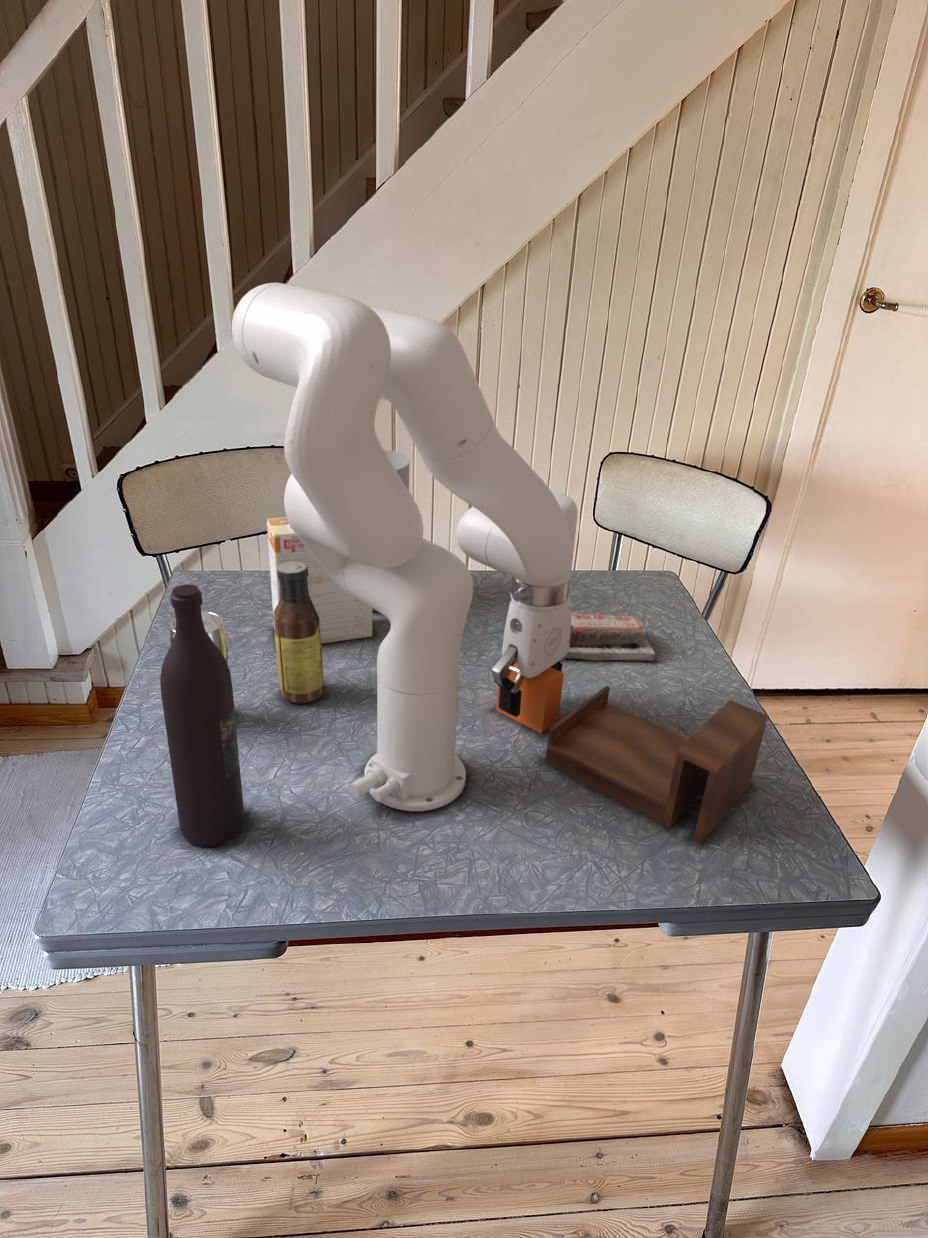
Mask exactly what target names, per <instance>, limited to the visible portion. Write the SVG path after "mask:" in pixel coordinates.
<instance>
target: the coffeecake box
mask: <svg viewBox="0 0 928 1238" xmlns="http://www.w3.org/2000/svg"><path fill="white" fill-rule="evenodd" d="M266 530H267V543H268V546H267V547H268V559H269V575H270V587H271V588H270V590H271V602H272V615H273V616H272V617H273V619H274V610H275V609H276V606H277V605H278V603H279V600H280V582H279V579H278V577H277V567H278V566H279V565H280V564H282V563H285V562H302V563H304V564H306V565H307V567H308V577H307V582H308V591H309V596H310V598H311V600H312V603H313V605H314V607H315V609H316V612H317V614H318V616H319V620H320V635H321V644H327V643H335V642H342V641H348V640H349V641H351V640H355V639H356V640H357V639H363V638H371V637H373V629H374V627H373V611H372V607H370V606H369V605H367V604H365V603H363V602H361V601H360V600H358V599H356V598H354V597H352V596H351V595H349V594H348V593H346V592H345V591H344V590H342V589H341V588H340V587H339V586H338V585H337V584H336V583H335V582H334V581H333V580H332V578H331V577H330V576H329V575H328V574H327V572H326V571H325V570H324V569H323V568H322V566H321V565H320V564H319V563H318V561H317V560H316V559H315V558H314V557H313V555H312V554H311V553H310V552H309V550H308V549H307V548H306V547H305V545H304V544H303V543H302V542H301V540H300V539H299V538H298V536H297V535H296V534H295V532H294V531H293V529H292V528H291V526H290V524H289V522H288V519H287V516H284V517H274V518H273V517H272V518H267V519H266ZM273 627H274V628H273V629H274V631H275V624H274V623H273Z"/></svg>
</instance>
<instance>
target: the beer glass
mask: <svg viewBox="0 0 928 1238" xmlns="http://www.w3.org/2000/svg"><path fill="white" fill-rule="evenodd" d="M201 614H202V620H203V624H204V628H205V631H206V632H207V634H208V635H209V637H210V638H211V640H212V641H213V642H214V643H215V645H216V646H217V647H218V648H219V649H220V651H221V653H222V654H223V656H224V657H225V659H226V662H227V665H228V666H229V649H228V648H229V647H228V641H227V636H226V629H225V625H224V619H223V617H222V615H220V614H218V613H217V612H213V611H209V610H201ZM175 632H176V618H175V617H173V618H172V619H171V621H170V622H169V637H170V638H169V639H170V640H169V641H170V645H171V644H172V641H173V638H174V636H175Z"/></svg>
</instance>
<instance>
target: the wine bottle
mask: <svg viewBox="0 0 928 1238" xmlns="http://www.w3.org/2000/svg"><path fill="white" fill-rule="evenodd" d="M169 596H170V601H171V602H170V603H171V607H172V608H173V610H174V618H176V632H175V636H174V638H173V641H172V644H171V643H170V646H169V647H168V650H167V652H166V653H165V656H164V659H163V661H162V664H161V669H160V676H159V677H160V678H159V684H160V695H161V703H162V710H163V717H164V724H165V732H166V738H167V744H168V746H167V747H168V753H169V761H170V766H171V774H172V775H171V776H172V782H173V788H174V795H175V803H176V809H177V818H178V825H179V830H180V833H181V835H182V837H183V838H184V839H185V840H186V841H187V843H189V844H191V845H195V846H198V847H215V846H220V845H222V844H226V843H228V842H229V841H231V840H233V839H234V838H235V837H237V836H238V835H239V834H240V832H241V831H242V829H243V827H244V824H245V809H244V807H245V806H244V798H243V786H242V777H241V766H240V765H241V763H240V755H239V745H238V744H239V743H238V734H237V733H238V732H237V721H236V712H235V700H234V691H233V681H232V676H231V670H230V668H229V664H228V665H227V662H226V659H225V657H224V656H223V654H222V653H221V651H220V649H219V648H218V647H217V646H216V645H215V643H214V642H213V641H212V640H211V638H210V637H209V635H208V634H207V632H206V631H205V628H204V624H203V620H202V614H201V611H202V605H203V595H202V590H200V588H199V587H198V585H195V584H180V585H176V586H175V587H173V588H172V590H171V593H170V595H169Z"/></svg>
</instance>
